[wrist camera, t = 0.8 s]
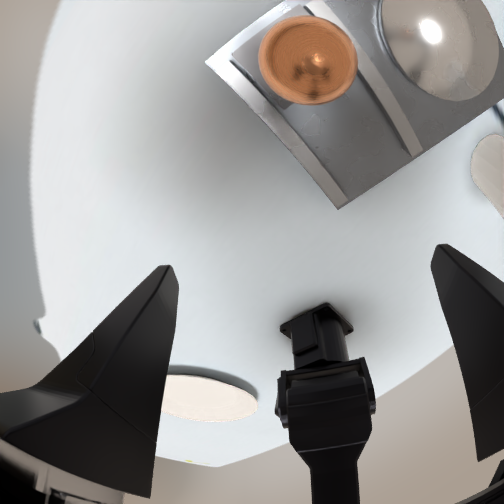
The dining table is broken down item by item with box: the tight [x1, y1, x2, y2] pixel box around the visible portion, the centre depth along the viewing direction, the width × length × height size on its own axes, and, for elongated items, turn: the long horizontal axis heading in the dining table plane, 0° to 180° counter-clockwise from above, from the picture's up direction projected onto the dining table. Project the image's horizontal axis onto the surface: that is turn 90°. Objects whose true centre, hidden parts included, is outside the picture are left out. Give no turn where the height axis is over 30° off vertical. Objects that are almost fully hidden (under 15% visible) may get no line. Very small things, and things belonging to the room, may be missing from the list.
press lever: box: [231, 4, 358, 110], centre depth 11 cm, size 4×5×9 cm
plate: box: [161, 375, 258, 422], centre depth 45 cm, size 21×21×2 cm
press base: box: [205, 0, 504, 210], centre depth 14 cm, size 14×20×3 cm
